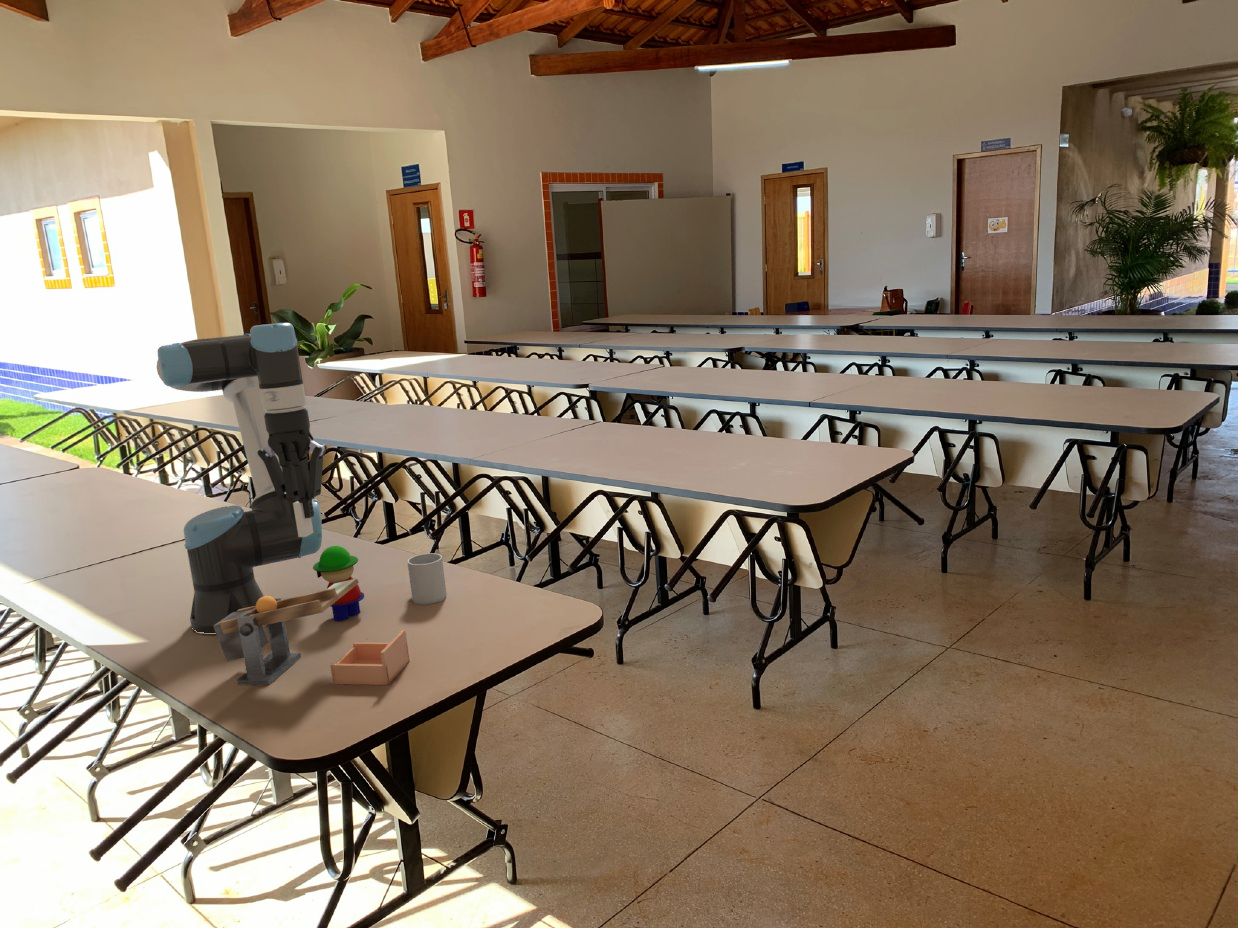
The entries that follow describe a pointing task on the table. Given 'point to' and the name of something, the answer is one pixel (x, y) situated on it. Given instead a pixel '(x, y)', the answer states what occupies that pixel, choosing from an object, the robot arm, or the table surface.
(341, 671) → the pink open box
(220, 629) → the lever
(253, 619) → the bracket
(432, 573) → the cup
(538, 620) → the table surface
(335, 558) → the toy
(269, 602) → the ball
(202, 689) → the table surface
